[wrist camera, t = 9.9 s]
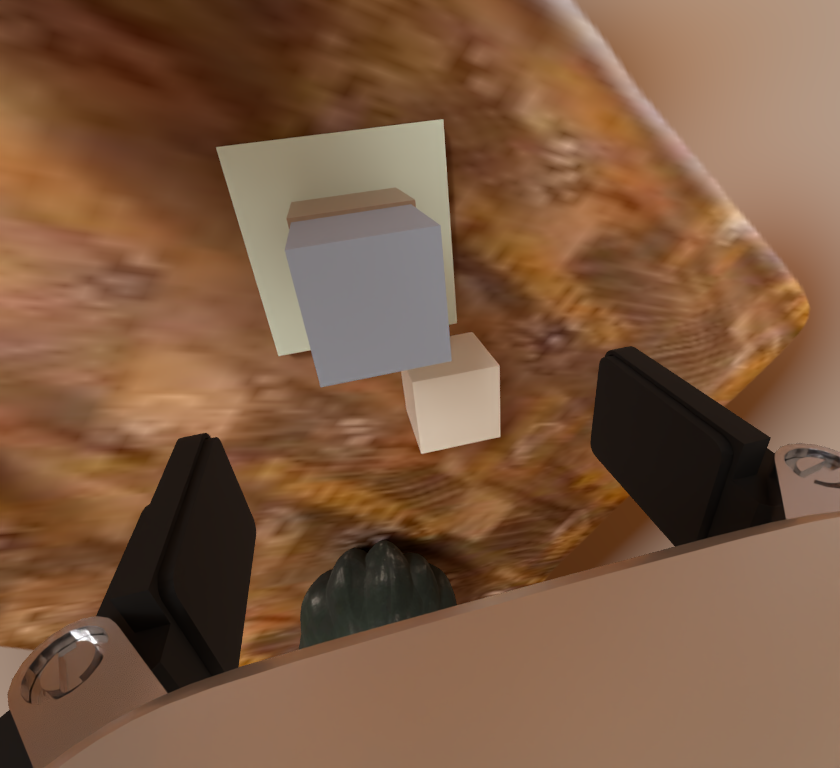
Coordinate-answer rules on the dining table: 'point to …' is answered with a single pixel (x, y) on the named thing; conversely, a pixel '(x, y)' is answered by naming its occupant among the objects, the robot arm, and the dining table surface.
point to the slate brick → (371, 292)
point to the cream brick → (454, 397)
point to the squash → (371, 593)
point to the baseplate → (323, 176)
